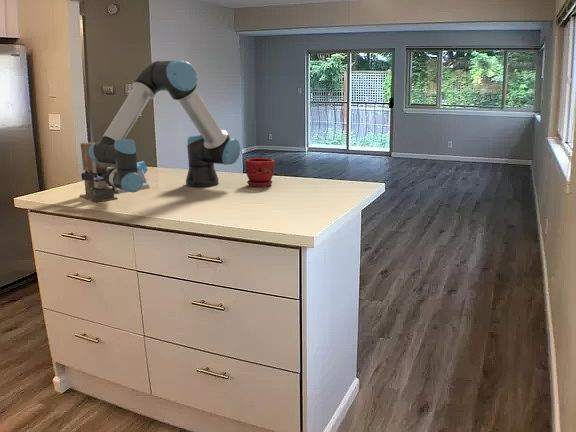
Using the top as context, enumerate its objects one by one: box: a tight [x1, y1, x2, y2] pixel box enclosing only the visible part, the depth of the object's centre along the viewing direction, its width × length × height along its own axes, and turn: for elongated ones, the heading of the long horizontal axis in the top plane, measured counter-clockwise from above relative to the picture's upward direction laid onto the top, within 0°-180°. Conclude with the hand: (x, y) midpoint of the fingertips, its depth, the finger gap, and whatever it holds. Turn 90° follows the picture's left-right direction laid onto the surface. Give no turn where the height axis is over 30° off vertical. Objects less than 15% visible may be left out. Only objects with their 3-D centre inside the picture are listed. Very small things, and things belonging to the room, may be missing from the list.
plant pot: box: [245, 158, 275, 188], centre depth 261 cm, size 13×13×12 cm
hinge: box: [111, 171, 150, 195], centre depth 256 cm, size 17×5×10 cm, turn 138°
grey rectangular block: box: [92, 160, 108, 190], centre depth 235 cm, size 4×4×16 cm
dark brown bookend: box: [79, 142, 118, 203], centre depth 238 cm, size 17×10×23 cm, turn 40°
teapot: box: [110, 160, 148, 178], centre depth 276 cm, size 15×15×11 cm
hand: (95, 171), depth 238 cm, fingers open, 10 cm apart
